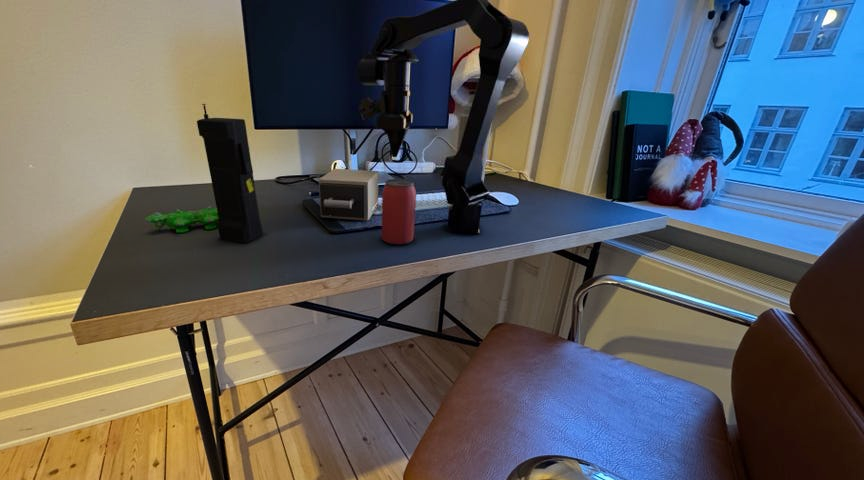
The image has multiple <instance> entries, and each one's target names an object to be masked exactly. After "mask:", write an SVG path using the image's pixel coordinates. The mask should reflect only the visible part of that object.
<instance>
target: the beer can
mask: <svg viewBox="0 0 864 480" xmlns="http://www.w3.org/2000/svg"><path fill="white" fill-rule="evenodd" d="M384 182H385V184H384V186H383V189H382V193H381V194H382V196H381V197H382V199H381V205H382V206H381V238H382V240H383V241H384V242H385V243H387V244H389V245H396V246H403V245H408V244H410V243H411V242H413V240H414V237H415V221H416V204H417V202H416V201H417V191H416V187H415V182H414V181H413V180H411V179H406V178H390V179H386V181H384Z"/></svg>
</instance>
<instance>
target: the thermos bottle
mask: <svg viewBox="0 0 864 480" xmlns="http://www.w3.org/2000/svg"><path fill="white" fill-rule="evenodd" d="M475 91H476V89H475V90H469V91H468V94H469V96H468V99H467V103H466V104H465V105H463V113H462V114H460V116H459V125H458V135H457V143H456V153H457V152H458V150H459V147H460V144H461V140H462V137H463V133H464V130H465V126H466V123H467V119H468V116H469V112H470V109H471V105H472V102H473V98H474V95H475ZM492 124H493V123H492ZM492 124H491V127H490V130H489V133H488V136H487V139H486V142H485V145H484V148H483V151H482V163H483V171H482V177H481V179H482V181H483V183H484V184H485V175H486V169H487V168H486V167H487V161H488V153H489V146H490V139H491V131H492ZM456 153H455V154H456Z"/></svg>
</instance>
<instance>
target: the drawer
mask: <svg viewBox="0 0 864 480" xmlns="http://www.w3.org/2000/svg"><path fill="white" fill-rule="evenodd" d="M320 198H321V209H320V216H321V215H325V216H329V215H331V216H338V217H351V218H365V185H349V184H333V183H326V184H323V183H321V184H320V192H319V199H320Z"/></svg>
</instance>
